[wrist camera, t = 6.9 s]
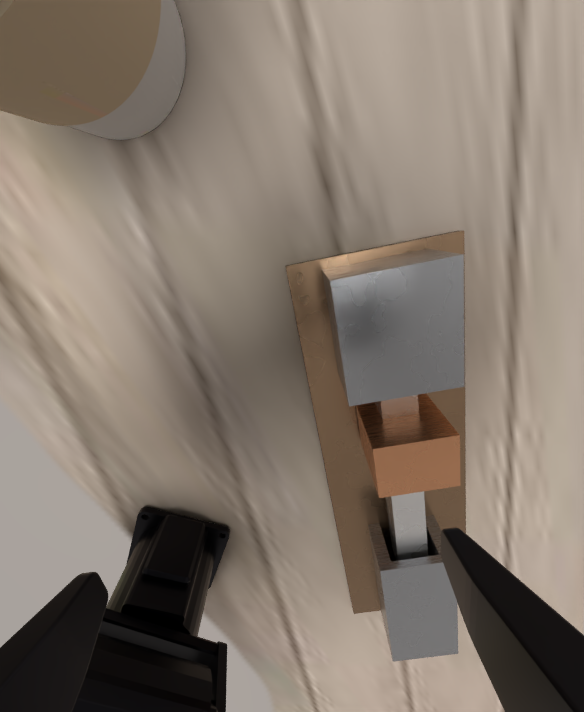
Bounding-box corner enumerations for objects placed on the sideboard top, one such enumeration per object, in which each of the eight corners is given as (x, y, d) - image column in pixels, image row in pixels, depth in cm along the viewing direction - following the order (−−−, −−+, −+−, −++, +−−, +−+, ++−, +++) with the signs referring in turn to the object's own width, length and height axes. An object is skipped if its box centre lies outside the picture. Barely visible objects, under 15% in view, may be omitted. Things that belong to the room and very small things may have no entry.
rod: (431, 535, 23) (461, 600, 19) (375, 543, 24) (393, 609, 20) (419, 320, 18) (458, 348, 14) (345, 334, 18) (361, 366, 14)
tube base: (462, 592, 27) (492, 654, 23) (352, 607, 28) (363, 670, 24) (459, 230, 17) (510, 231, 13) (285, 265, 17) (284, 277, 14)
